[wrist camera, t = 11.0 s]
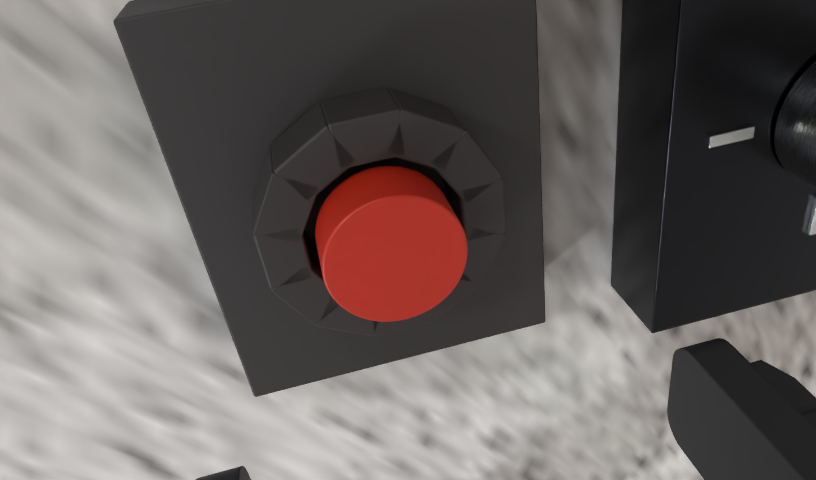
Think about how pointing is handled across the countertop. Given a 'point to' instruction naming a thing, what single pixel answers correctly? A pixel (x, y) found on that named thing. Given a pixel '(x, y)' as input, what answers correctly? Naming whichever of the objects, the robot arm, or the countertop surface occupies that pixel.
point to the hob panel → (709, 159)
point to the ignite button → (389, 244)
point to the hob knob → (798, 128)
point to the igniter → (344, 158)
